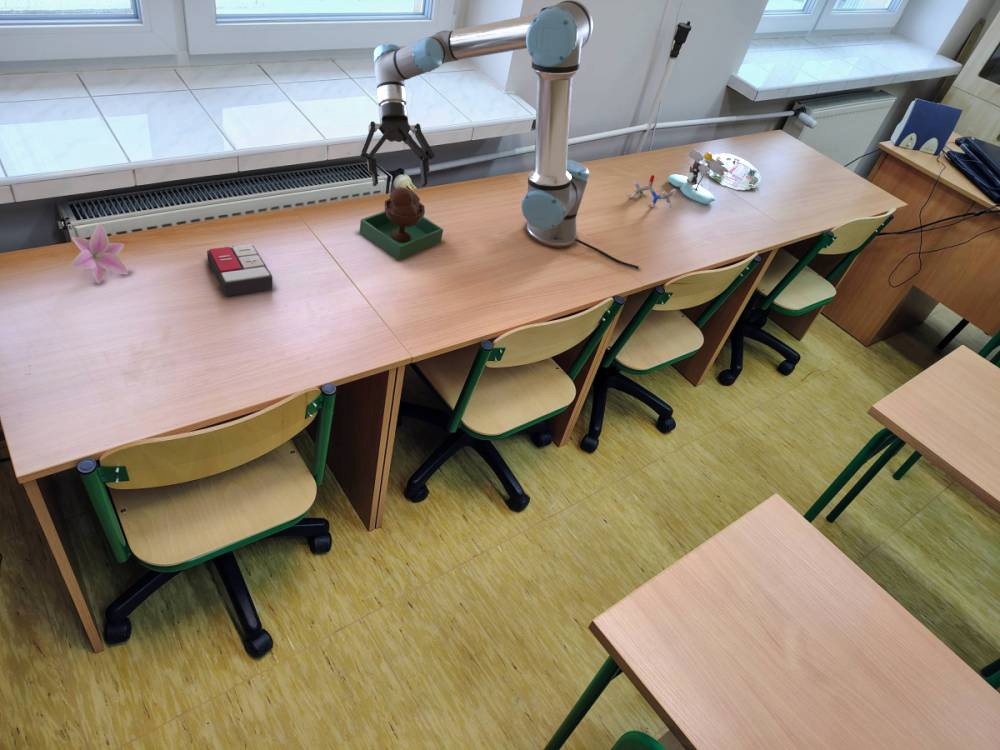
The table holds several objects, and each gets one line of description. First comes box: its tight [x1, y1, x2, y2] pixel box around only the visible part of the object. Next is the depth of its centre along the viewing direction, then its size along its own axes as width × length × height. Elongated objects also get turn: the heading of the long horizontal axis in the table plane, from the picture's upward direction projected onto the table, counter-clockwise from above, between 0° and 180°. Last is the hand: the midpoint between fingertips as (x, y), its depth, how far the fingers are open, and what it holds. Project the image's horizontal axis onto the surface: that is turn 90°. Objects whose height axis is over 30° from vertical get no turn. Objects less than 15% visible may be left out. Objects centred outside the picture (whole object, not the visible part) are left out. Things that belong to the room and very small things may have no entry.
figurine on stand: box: [667, 148, 728, 205], centre depth 252 cm, size 20×11×15 cm, turn 30°
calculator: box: [206, 243, 274, 297], centre depth 168 cm, size 11×4×15 cm
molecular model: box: [630, 174, 677, 209], centre depth 240 cm, size 18×8×10 cm, turn 42°
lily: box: [69, 222, 129, 284], centre depth 158 cm, size 12×12×10 cm
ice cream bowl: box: [384, 186, 426, 242], centre depth 190 cm, size 11×11×15 cm
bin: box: [359, 210, 444, 261], centre depth 194 cm, size 15×16×4 cm
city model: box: [703, 152, 763, 191], centre depth 274 cm, size 25×23×6 cm
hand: (400, 185), depth 191 cm, fingers open, 13 cm apart
